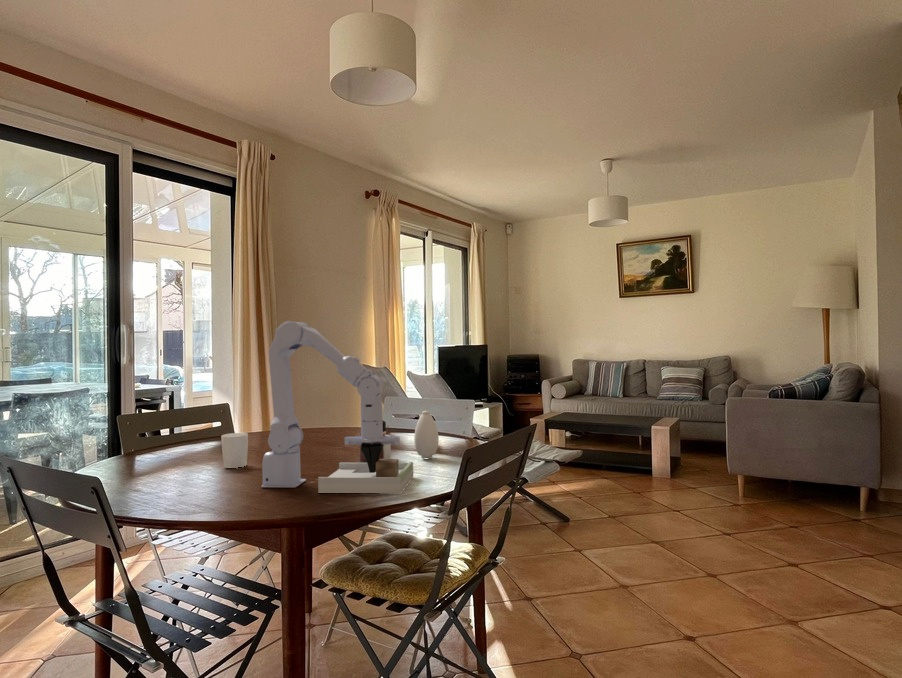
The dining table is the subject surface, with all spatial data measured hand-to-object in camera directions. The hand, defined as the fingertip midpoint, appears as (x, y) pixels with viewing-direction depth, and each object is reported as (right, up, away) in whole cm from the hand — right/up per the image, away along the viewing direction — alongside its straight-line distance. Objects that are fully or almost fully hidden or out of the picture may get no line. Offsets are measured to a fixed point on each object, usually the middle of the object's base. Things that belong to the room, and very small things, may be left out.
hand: (372, 471), depth 149 cm
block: (+4, -1, 0) cm, 4 cm away
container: (-3, -4, +32) cm, 32 cm away
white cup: (-47, -5, +27) cm, 55 cm away
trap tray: (-1, -4, 0) cm, 4 cm away
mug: (-4, -4, +20) cm, 21 cm away
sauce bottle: (+13, -4, +33) cm, 35 cm away
